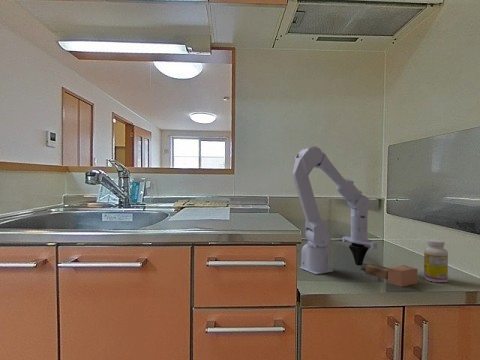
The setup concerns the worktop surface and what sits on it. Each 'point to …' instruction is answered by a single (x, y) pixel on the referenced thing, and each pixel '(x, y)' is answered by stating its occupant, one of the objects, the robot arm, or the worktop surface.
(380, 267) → the brown rectangular block
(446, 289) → the worktop surface
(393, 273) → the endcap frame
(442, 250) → the supplement bottle
